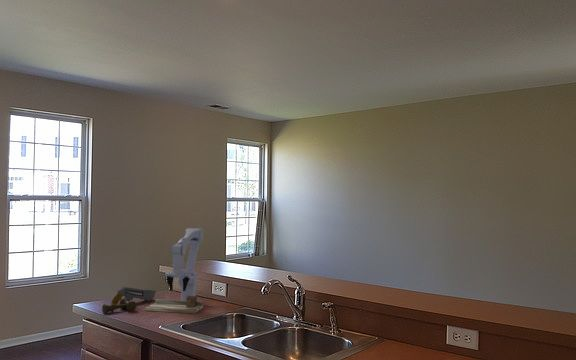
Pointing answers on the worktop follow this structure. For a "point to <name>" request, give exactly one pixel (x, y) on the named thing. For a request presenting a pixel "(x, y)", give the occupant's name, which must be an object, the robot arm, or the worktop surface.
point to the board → (173, 306)
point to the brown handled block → (191, 301)
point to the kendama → (120, 306)
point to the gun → (133, 294)
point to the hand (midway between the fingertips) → (177, 290)
